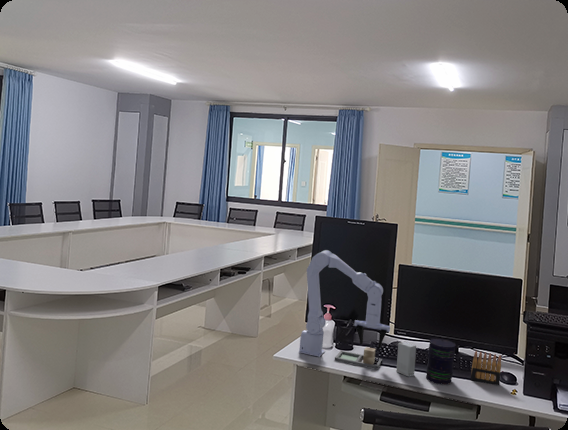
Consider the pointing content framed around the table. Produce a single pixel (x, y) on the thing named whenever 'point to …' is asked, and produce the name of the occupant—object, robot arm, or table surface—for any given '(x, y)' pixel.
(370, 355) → the birch plug
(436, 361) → the storage jar
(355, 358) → the slot holder
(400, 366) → the skincare box
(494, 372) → the ammunition clip
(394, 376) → the table surface
